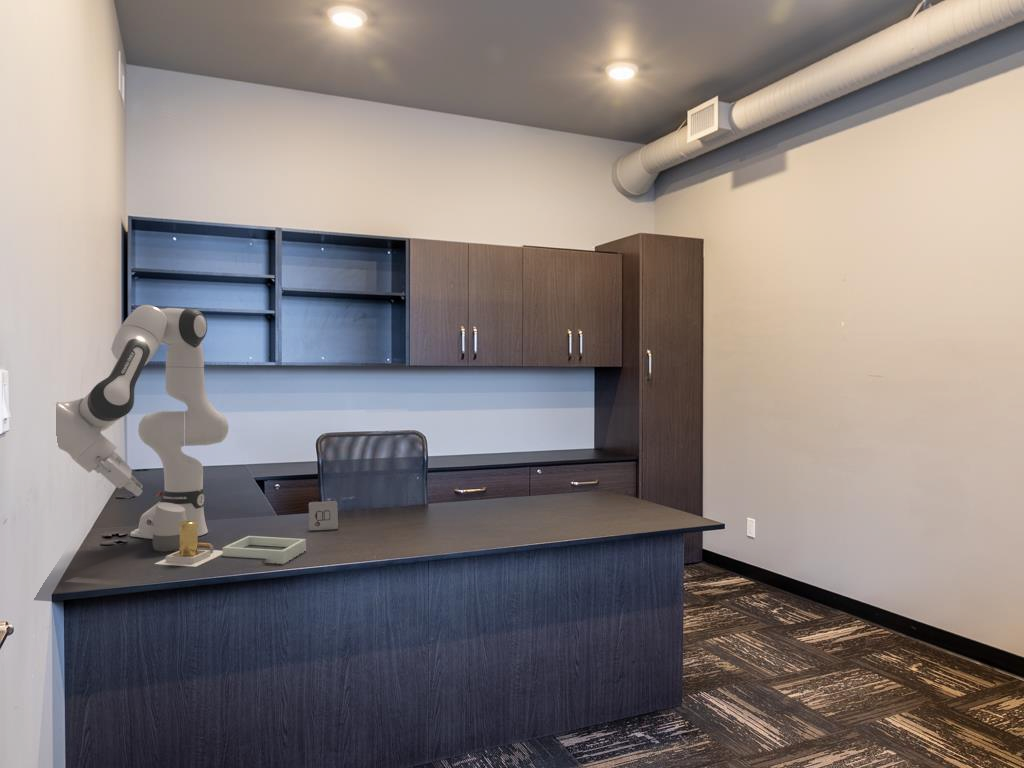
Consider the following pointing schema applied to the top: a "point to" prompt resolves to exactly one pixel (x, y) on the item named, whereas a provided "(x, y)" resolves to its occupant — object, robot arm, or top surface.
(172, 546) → the smart speaker
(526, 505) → the top surface
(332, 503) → the electrical switch
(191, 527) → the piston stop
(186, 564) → the base
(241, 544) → the tray
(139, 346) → the robot arm
